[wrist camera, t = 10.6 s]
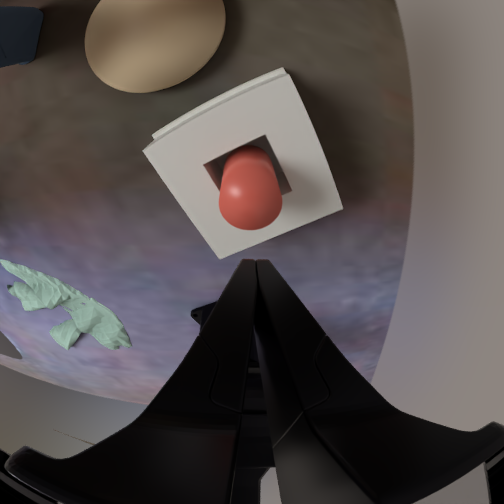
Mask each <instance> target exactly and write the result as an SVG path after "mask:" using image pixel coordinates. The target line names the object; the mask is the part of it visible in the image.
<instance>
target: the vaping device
mask: <svg viewBox="0 0 504 504" xmlns="http://www.w3.org/2000/svg"><path fill="white" fill-rule="evenodd" d="M42 21H43V13H42V11H40V10H39V9H38V8H35V7H15V6H6V7H0V68H1V67H5V66H9V65H14V64H21V65H23V64H27V63H29V62H30V61H33V59H34V57H35V54H36V48H37V43H38V38H39V33H40V29H41V25H42Z"/></svg>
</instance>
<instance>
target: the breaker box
mask: <svg viewBox="0 0 504 504" xmlns="http://www.w3.org/2000/svg"><path fill="white" fill-rule="evenodd" d="M152 137H153V138H154V141H153V142H151V143H150V144H149V145H148V146H147V147H146V148H145V149H144V150H143V152H144V154H145V155H146V156H147V158H148V159H149V161H150V162H151V164H152V165H153V167H154V168H155V170H156V171H157V173H158V174H159V175H160V177H161V178H162V180H163V181H164V183H165V184H166V185H167V187H168V188H169V190H170V191H171V193H172V194H173V195H174V197H175V198H176V200H177V201H178V203H179V204H180V205H181V207H182V208H183V210H184V211H185V212H186V214H187V215H188V217H189V218H190V219H191V221H192V222H193V224H194V225H195V226H196V228H197V229H198V230H199V232H200V233H201V235H202V236H203V237H204V239H205V240H206V241H207V243H208V244H209V246H210V247H211V248H212V250H213V251H214V252H215V254H216V255H217V256H218V258H219V259H222V258H224V257H227V256H229V255H232V254H234V253H237V252H239V251H241V250H244V249H246V248H249V247H251V246H254V245H256V244H258V243H261V242H263V241H266V240H268V239H271V238H273V237H275V236H278V235H280V234H283V233H285V232H288V231H290V230H293V229H295V228H297V227H300V226H302V225H305V224H307V223H310V222H312V221H315V220H317V219H320V218H322V217H324V216H327V215H329V214H332V213H334V212H337V211H339V210H342V209H343V206H342V203H341V200H340V197H339V194H338V191H337V188H336V185H335V182H334V180H333V177H332V174H331V171H330V168H329V166H328V163H327V160H326V158H325V155H324V152H323V150H322V147H321V144H320V142H319V139H318V137H317V134H316V132H315V130H314V127H313V125H312V122H311V120H310V118H309V116H308V114H307V111H306V109H305V107H304V105H303V102H302V100H301V98H300V96H299V94H298V92H297V89H296V87H295V85H294V83H293V81H292V79H291V77H290V75H289V74H286V72H285V70H284V68H279V69H276V70H274V71H271V72H269V73H266V74H264V75H262V76H259V77H257V78H255V79H252V80H250V81H248V82H246V83H243V84H241V85H239V86H237V87H235V88H233V89H231V90H229V91H227V92H225V93H223V94H221V95H219V96H217V97H215V98H213V99H211V100H209V101H207V102H205V103H204V104H202V105H200V106H198V107H196V108H194V109H193V110H191V111H189V112H187V113H186V114H184V115H182V116H181V117H179V118H177V119H176V120H174V121H172V122H171V123H169V124H167V125H166V126H164V127H163V128H161V129H160V130H158V131H156V132H155V133H154V134H153V135H152ZM244 145H253V146H257V147H259V148H261V149H263V150H264V151H265V152H266V153H267V154H268V155H269V157H270V159H271V161H272V165H273V168H274V171H275V175H276V178H277V181H278V185H279V188H280V192H281V195H282V209H281V212H280V214H279V216H278V217H277V218H276V219H275V221H274V222H272V223H271V224H270V225H268V226H266V227H264V228H261V229H258V230H242V229H239V228H236V227H234V226H232V225H231V224H229V223H228V222H227V221H226V220H225V219H224V218H223V216H222V214H221V212H220V209H219V195H220V189H221V182H222V176H223V170H224V164H225V160H226V158H227V156H228V155H229V154H230V153H231V152H232V151H233V150H234V149H236V148H238V147H240V146H244Z"/></svg>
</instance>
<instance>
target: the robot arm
mask: <svg viewBox="0 0 504 504" xmlns="http://www.w3.org/2000/svg"><path fill="white" fill-rule="evenodd" d="M191 317H192V318H193V319H194V320H195V321H196V322H197V323H199V324H200V333H199V336H197V338H196V339H195V341H194V343H193V345H192V346H191V348H190V350H189V351H188V353H187V354H186V356H185V357H184V359H183V361H182V362H181V364H180V365H179V366H178V368H177V369H176V370H175V372H174V373H173V375H172V376H171V377H170V378H169V380H168V381H167V382H166V383H165V385H164V386H163V387H162V389H161V390H160V391H159V392H158V394H157V395H156V396H155V397H154V399H153V400H152V401H151V403H150V404H149V405H148V406H147V408H146V409H145V410H144V411H143V412H142V413H141V414H140V415H139V417H137V418H136V419H135V420H134V421H133V422H132V423H130V424H129V425H127V426H126V427H124V428H123V429H121V430H119V431H118V432H116V433H115V434H113V435H111V436H109V437H108V438H106V439H104V440H102V441H100V442H99V443H97V444H95V445H93V446H92V447H90V448H88V449H86V450H84V451H82V452H81V453H79V454H77V455H74V456H72V457H70V458H64V459H56V458H53V457H51V456H49V455H46V454H44V453H42V452H39V451H37V450H35V449H33V448H30V447H28V446H23V447H22V448H20V449H19V450H17V451H16V452H15V453H13V454H12V455H11V454H9V453H7V452H5V451H4V450H2V449H0V504H260V483H261V479H262V477H263V476H264V475H265V473H266V472H267V471H268V470H269V468H271V467H276V473H277V479H278V485H279V490H280V497H281V502H282V504H504V426H503V425H501V424H499V423H496V422H491V423H489V424H487V425H486V426H484V427H482V428H480V429H479V430H477V431H472V432H468V431H461V430H456V429H453V428H449V427H446V426H443V425H440V424H436V423H433V422H430V421H427V420H424V419H421V418H418V417H415V416H412V415H409V414H407V413H404V412H402V411H400V410H398V409H397V408H395V407H394V406H392V405H391V404H390V403H389V402H387V401H386V400H385V399H384V398H383V397H382V396H381V395H380V394H379V393H378V392H377V391H376V390H375V388H373V386H372V385H371V384H370V383H369V382H368V381H367V380H366V379H365V378H364V377H363V376H362V375H361V374H360V373H359V372H358V371H357V370H356V369H355V368H354V367H353V366H352V365H351V363H350V362H349V361H348V360H347V359H346V358H345V357H344V356H343V354H342V353H341V352H340V351H339V349H338V348H337V347H336V346H335V345H334V343H333V342H332V341H331V339H330V338H329V337H328V336H326V333H325V332H324V330H323V329H322V328H321V326H320V325H319V324H318V323H317V321H316V320H315V319H314V317H313V316H312V315H311V313H310V312H309V311H308V310H307V308H306V307H305V306H304V304H303V303H302V302H301V300H300V299H299V298H298V297H297V295H296V294H295V293H294V291H293V290H292V289H291V288H290V286H289V285H288V284H287V282H286V281H285V280H284V279H283V277H282V276H281V275H280V273H279V272H278V271H277V270H276V268H275V267H274V266H273V264H272V263H271V262H270V261H269V260H265V259H257V260H256V261H255V260H254V259H242V260H241V261H240V263H239V265H238V266H237V268H236V270H235V272H234V273H233V275H232V277H231V279H230V280H229V282H228V284H227V286H226V287H225V289H224V291H223V293H222V294H221V296H220V298H219V299H218V301H217V302H214V303H211V304H208V305H205V306H202V307H199V308H196V309H194V310H192V311H191Z"/></svg>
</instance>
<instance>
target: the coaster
mask: <svg viewBox="0 0 504 504" xmlns="http://www.w3.org/2000/svg"><path fill="white" fill-rule="evenodd" d="M225 26H226V13H225V7H224V4H223V1H222V0H101V1H100V2H99V4H98V5H97V6H96V8H95V9H94V11H93V13H92V15H91V17H90V20H89V22H88V25H87V29H86V33H85V52H86V57H87V60H88V63H89V65H90V67H91V69H92V70H93V71H94V73H95V74H96V75H97V76H98V77H99V78H100V79H101V80H102V81H103V82H105V83H106V84H107V85H109V86H111V87H113V88H116V89H118V90H121V91H126V92H133V93H146V92H153V91H158V90H161V89H165V88H168V87H171V86H174V85H176V84H179V83H181V82H183V81H185V80H186V79H188V78H189V77H191V76H193V75H194V74H195V73H197V72H198V71H199V70H200V69H202V68H203V66H204V65H206V64H207V63H208V61H209V60H210V59H211V58H212V56H213V55H214V54H215V52H216V50H217V49H218V47H219V45H220V43H221V41H222V38H223V35H224V32H225Z"/></svg>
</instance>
